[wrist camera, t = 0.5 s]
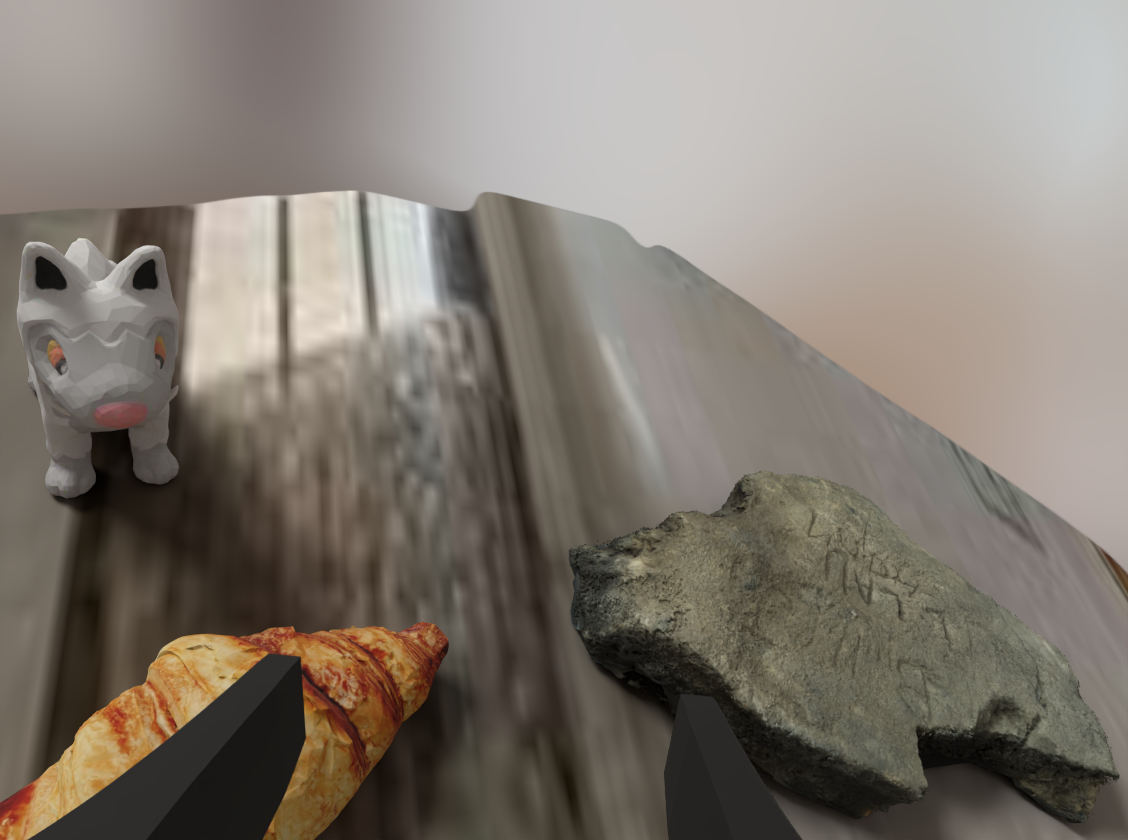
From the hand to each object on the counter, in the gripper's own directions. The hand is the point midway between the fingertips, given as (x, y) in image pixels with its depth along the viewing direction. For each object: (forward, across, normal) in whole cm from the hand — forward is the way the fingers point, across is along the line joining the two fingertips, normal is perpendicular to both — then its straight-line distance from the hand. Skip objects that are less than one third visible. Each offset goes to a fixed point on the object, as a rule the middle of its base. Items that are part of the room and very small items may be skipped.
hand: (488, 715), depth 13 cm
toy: (+24, +25, +8) cm, 36 cm away
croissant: (+10, +12, +16) cm, 22 cm away
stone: (+27, -20, +20) cm, 39 cm away
